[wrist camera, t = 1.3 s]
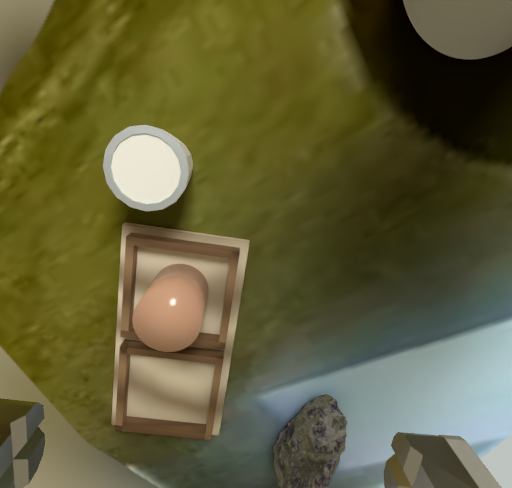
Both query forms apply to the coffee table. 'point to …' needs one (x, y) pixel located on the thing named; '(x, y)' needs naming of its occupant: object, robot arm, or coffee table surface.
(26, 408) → the robot arm
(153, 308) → the tan rounded cylinder
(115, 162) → the white cylinder
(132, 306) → the divided wooden tray
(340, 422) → the mineral rock
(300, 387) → the coffee table surface
